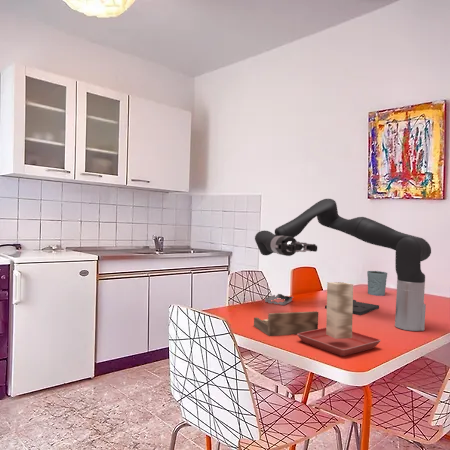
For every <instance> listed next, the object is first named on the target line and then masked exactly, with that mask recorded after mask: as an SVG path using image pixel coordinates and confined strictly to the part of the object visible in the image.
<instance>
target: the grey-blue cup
mask: <svg viewBox="0 0 450 450" xmlns="http://www.w3.org/2000/svg"><path fill="white" fill-rule="evenodd" d="M387 279H388V272H385V271H381V270H380V271H379V270H368V271H367V294H368V295H370V296H371V295H372V296H376V297H383V296H385V295H386V288H387V287H386V286H387Z"/></svg>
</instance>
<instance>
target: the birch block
mask: <svg viewBox="0 0 450 450" xmlns="http://www.w3.org/2000/svg"><path fill="white" fill-rule="evenodd" d="M326 283H327V284H326V286H327V287H326V305H327V309H326V321H325V322H326V323H325V324H326V325H325V326H326V327H325V328H326V335H328V336H331V337H333V338H335V339H342V338H352V331H353V315H354V314H353V300H354V284H353V283H349V282H341V281H339V282H337V281H334V282H332V281H329V282H326Z"/></svg>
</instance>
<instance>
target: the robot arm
mask: <svg viewBox="0 0 450 450" xmlns="http://www.w3.org/2000/svg"><path fill="white" fill-rule="evenodd" d="M315 218H316V219H317V222H318V224H320V225H321V226H324V227H326V228H329V229H333V230H336V231H339V232H341V233H344V234H346V235H349V236H352V237H354V238H356V239H358V240H360V241H363V242H365V243H367V244H370V245H375V246H377V247H382V248H387V249H391V250H393V251H395V260H394V261H395V267H394V268H395V272H396V276H397V277H396V278H397V281H396V294H395V295H396V298H395V300H396V301H395V315H394V316H395V318H394V327H396V328H398V329H401V330H404V331H411V332H412V331H413V332H420V331H422V332H424V331H425V327H426V326H425V323H426V305H427V304H426V303H425V288H426V287H425V286H426V275H425V273H424V272H422V268H421V266H422V265H421V262H424V261H426V260H427V259H428V258H429V257H430V256H431V254H432V248H431V245H430V244H429V242H428V241H427V240H426V239H424V238H423V237H419V236H415V235H411V234H407V233H404V232H401V231H398V230H396V229H394V228H392V227H389V226H387V225H385V224H383V223H381V222H378V221H376V220H373V219H371V218H368V217H365V216H358V217H354V218H351V219H349V218H344V217H342V216H340V215H339V212H338V205H337V202H336V200H334V199H332V198H323V199H321V200H319V201H317V202H316V203H314V204H313V205H312V206H310V207H308V208H307V209H306V210H304V211H303V212H301V214H299V215H298V216H296V217H294V218H293V219H291V220H289V221H288V222H286V223H284V224H282V225H279V226H278V227H276V228H275V229H274V233H273V232H271V231H269V230H259V231H258V232H257V233H256V234H255V236H254V241H255V243H256V245H257V248H258V250H259V252H260V254H261V255H262V256H270V255H272V254H278V255H280V256H281V255H282V256H286V257H291V256H293V255H295V254H296V253H300V252H301V253H306V252H317V251H318V245H316V244H315V243H307V242H300V241H297V239H296V238H295V237H297V236H299V235H300V234H301V233H302V231H304V229H305V228H306V227H307V225H308V224H309V223H310V222H311V221H312V220H313V219H315Z"/></svg>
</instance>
